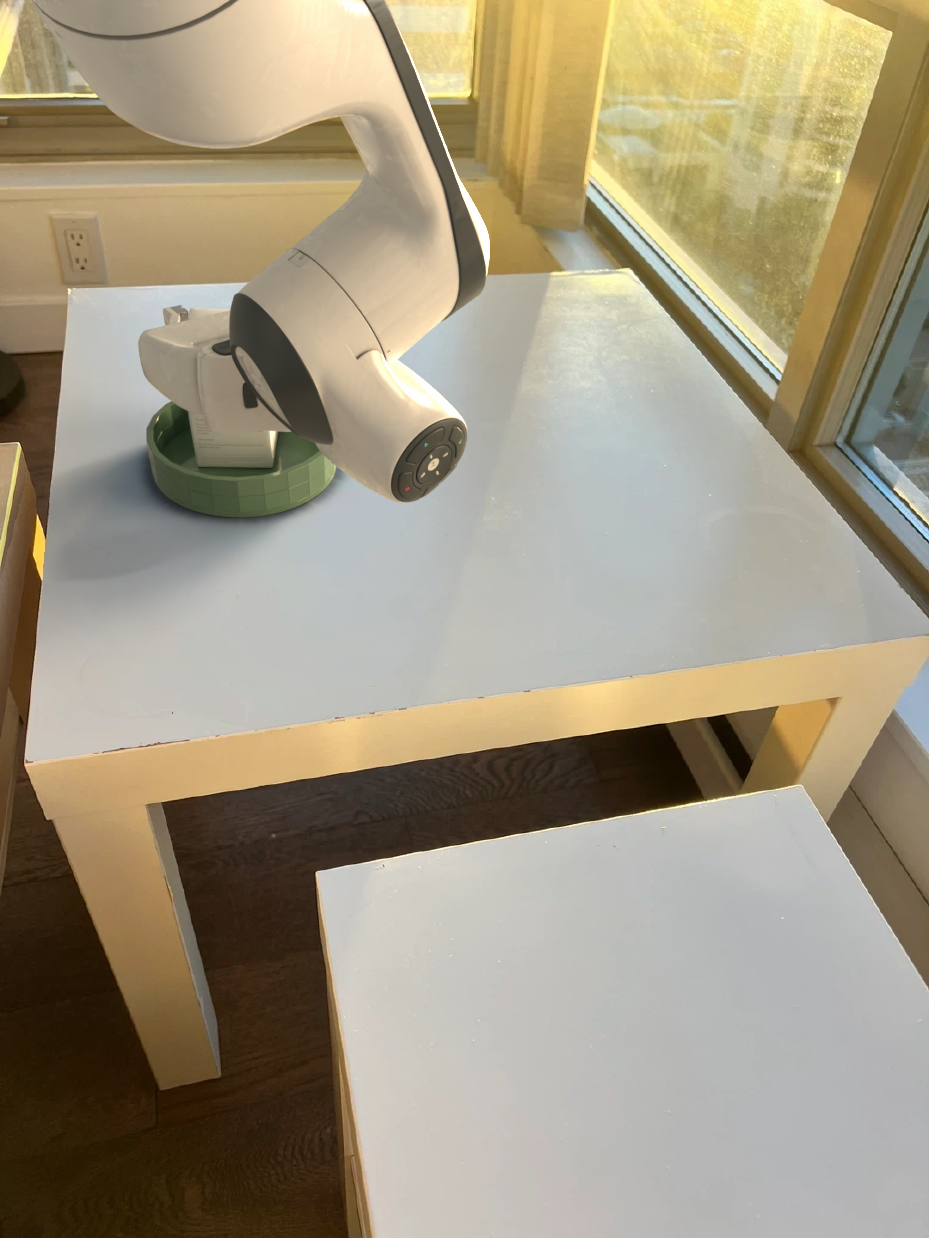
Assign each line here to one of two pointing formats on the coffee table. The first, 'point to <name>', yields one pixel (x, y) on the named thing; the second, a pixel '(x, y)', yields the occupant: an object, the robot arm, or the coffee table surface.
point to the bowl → (232, 472)
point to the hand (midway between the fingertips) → (223, 303)
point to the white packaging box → (229, 436)
